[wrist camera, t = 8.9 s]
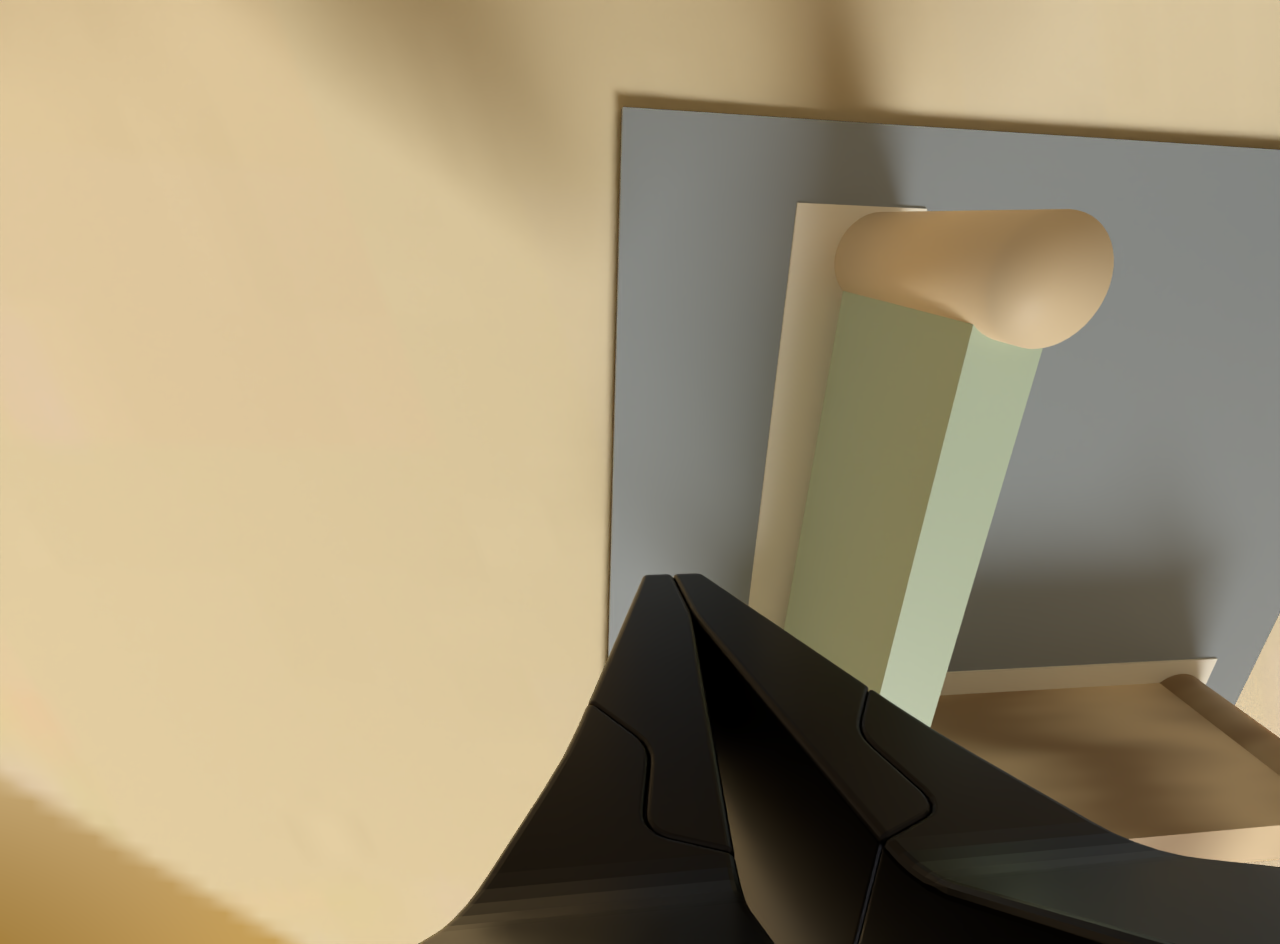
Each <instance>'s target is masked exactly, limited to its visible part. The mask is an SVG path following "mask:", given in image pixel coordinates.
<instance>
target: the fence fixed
mask: <svg viewBox="0 0 1280 944" xmlns="http://www.w3.org/2000/svg"><path fill="white" fill-rule="evenodd" d="M930 728H932V729H933V730H935V731H937V732H938V733H940V734H942V735H943V736H945V737H947V738H948V739H950V740H952V741H954V742H955V743H957V744H959V745H960V746H962V747H964V748H965V749H967V750H969V751H970V752H972V753H974V754H975V755H977V756H979V757H981V758H982V759H984V760H986V761H988V762H989V763H991V764H993V765H995V766H996V767H998V768H1000V769H1002V770H1003V771H1005V772H1007V773H1008V774H1010V775H1012V776H1014V777H1015V778H1017V779H1019V780H1021V781H1022V782H1024V783H1026V784H1028V785H1029V786H1031V787H1033V788H1035V789H1036V790H1038V791H1040V792H1042V793H1043V794H1045V795H1047V796H1049V797H1050V798H1052V799H1054V800H1056V801H1057V802H1059V803H1061V804H1063V805H1064V806H1066V807H1068V808H1070V809H1071V810H1073V811H1075V812H1076V813H1078V814H1080V815H1082V816H1083V817H1085V818H1087V819H1089V820H1090V821H1092V822H1094V823H1096V824H1098V825H1100V826H1102V827H1104V828H1105V829H1107V830H1109V831H1111V832H1113V833H1115V834H1118V835H1120V836H1122V837H1125V838H1127V839H1129V840H1132V841H1134V842H1137V843H1140V844H1143V845H1146V846H1149V847H1152V848H1155V849H1158V850H1161V851H1165V852H1170V853H1174V854H1178V855H1182V856H1188V857H1195V858H1203V859H1212V860H1221V861H1229V862H1238V863H1249V862H1259V861H1269V860H1279V859H1280V738H1279V737H1278V736H1276V735H1275V734H1273V733H1272V732H1271V731H1269V730H1268V729H1266V728H1265V727H1264V726H1262V725H1261V724H1259V723H1258V722H1257V721H1255V720H1254V719H1253V718H1251V717H1250V716H1248V715H1247V714H1246V713H1244V712H1243V711H1241V710H1240V709H1239V708H1237V707H1236V706H1235V705H1233V704H1232V703H1230V702H1229V701H1228V700H1226V699H1225V698H1223V697H1222V696H1221V695H1219V694H1218V693H1217V692H1215V691H1214V690H1212V689H1211V688H1210V687H1208V686H1207V685H1205V684H1204V683H1203V682H1201V681H1200V680H1199V679H1197V678H1196V677H1194V676H1192V675H1189V674H1178V675H1174V676H1171V677H1169V678H1167V679H1165V680H1163V681H1162V682H1160V683H1150V684H1133V685H1115V686H1098V687H1080V688H1062V689H1045V690H1027V691H1010V692H992V693H974V694H957V695H940V697H939V700H938V704H937V707H936V710H935V714H934V717H933V720H932V724H931V727H930Z"/></svg>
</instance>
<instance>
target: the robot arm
mask: <svg viewBox="0 0 1280 944" xmlns="http://www.w3.org/2000/svg"><path fill="white" fill-rule="evenodd" d="M868 690H869V689H868V687H867V686H866V685H865V684H863V683H862V682H860V681H859V680H857V679H856V678H855V677H853V676H852V675H850V674H849V673H847V672H846V671H844V670H843V669H841V668H840V667H838V666H837V665H835V664H834V663H832V662H831V661H829V660H828V659H826V658H825V657H823V656H822V655H821V654H819V653H818V652H816V651H815V650H813V649H812V648H810V647H809V646H807V645H806V644H804V643H803V642H801V641H800V640H798V639H797V638H795V637H794V636H792V635H791V634H789V633H788V632H787V631H785V630H784V629H782V628H781V627H779V626H778V625H776V624H775V623H773V622H772V621H770V620H769V619H767V618H766V617H764V616H763V615H761V614H760V613H758V612H757V611H756V610H754V609H753V608H751V607H750V606H748V605H747V604H745V603H744V602H742V601H741V600H739V599H738V598H736V597H735V596H733V595H732V594H730V593H729V592H727V591H726V590H724V589H723V588H722V587H720V586H719V585H717V584H716V583H714V582H713V581H711V580H710V579H708V578H707V577H705V576H704V575H702V574H699V573H688V574H676V575H674V576H673V577H672V576H671V575H669V574H654V575H645V576H644V577H643V578H642V580H641V583H640V585H639V587H638V590H637V592H636V594H635V597H634V599H633V601H632V604H631V606H630V608H629V611H628V613H627V615H626V617H625V620H624V622H623V624H622V627H621V629H620V631H619V634H618V636H617V638H616V641H615V643H614V645H613V648H612V650H611V652H610V655H609V657H608V659H607V662H606V664H605V666H604V669H603V671H602V673H601V676H600V678H599V680H598V683H597V685H596V687H595V690H594V692H593V694H592V696H591V699H590V701H589V704H588V706H587V708H586V710H585V712H584V714H583V716H582V719H581V721H580V723H579V726H578V728H577V730H576V732H575V734H574V736H573V738H572V740H571V742H570V744H569V746H568V748H567V750H566V752H565V754H564V756H563V758H562V760H561V761H560V763H559V765H558V766H557V768H556V770H555V771H554V773H553V775H552V776H551V778H550V780H549V782H548V783H547V785H546V787H545V788H544V790H543V791H542V793H541V794H540V796H539V797H538V799H537V801H536V802H535V804H534V805H533V807H532V808H531V810H530V811H529V813H528V814H527V816H526V817H525V819H524V821H523V822H522V824H521V825H520V827H519V828H518V830H517V831H516V833H515V834H514V836H513V838H512V839H511V841H510V842H509V844H508V845H507V847H506V848H505V850H504V851H503V853H502V854H501V856H500V858H499V859H498V861H497V862H496V864H495V865H494V867H493V868H492V870H491V871H490V873H489V875H488V876H487V877H486V879H485V880H484V882H483V883H482V885H481V886H480V888H479V889H478V891H477V892H476V894H475V895H474V896H473V897H472V899H471V900H470V901H469V902H468V904H467V905H466V906H465V907H464V908H463V909H462V911H461V912H460V913H459V914H458V915H457V916H456V917H455V918H454V919H453V920H452V921H451V922H450V923H449V924H447V925H446V926H445V927H444V928H443V929H442V930H440V931H439V932H437V933H436V934H434V935H432V936H431V937H429V938H427V939H426V940H424V941H422V942H421V943H419V944H1280V867H1274V866H1265V865H1256V864H1247V863H1238V862H1229V861H1221V860H1212V859H1203V858H1195V857H1188V856H1182V855H1178V854H1174V853H1170V852H1165V851H1161V850H1158V849H1155V848H1152V847H1149V846H1146V845H1143V844H1140V843H1137V842H1134V841H1132V840H1129V839H1127V838H1125V837H1122V836H1120V835H1118V834H1115V833H1113V832H1111V831H1109V830H1107V829H1105V828H1104V827H1102V826H1100V825H1098V824H1096V823H1094V822H1092V821H1090V820H1089V819H1087V818H1085V817H1083V816H1082V815H1080V814H1078V813H1076V812H1075V811H1073V810H1071V809H1070V808H1068V807H1066V806H1064V805H1063V804H1061V803H1059V802H1057V801H1056V800H1054V799H1052V798H1050V797H1049V796H1047V795H1045V794H1043V793H1042V792H1040V791H1038V790H1036V789H1035V788H1033V787H1031V786H1029V785H1028V784H1026V783H1024V782H1022V781H1021V780H1019V779H1017V778H1015V777H1014V776H1012V775H1010V774H1008V773H1007V772H1005V771H1003V770H1002V769H1000V768H998V767H996V766H995V765H993V764H991V763H989V762H988V761H986V760H984V759H982V758H981V757H979V756H977V755H975V754H974V753H972V752H970V751H969V750H967V749H965V748H964V747H962V746H960V745H959V744H957V743H955V742H954V741H952V740H950V739H948V738H947V737H945V736H943V735H942V734H940V733H938V732H937V731H935V730H933V729H932V728H930V727H929V726H927V725H926V724H924V723H923V722H921V721H919V720H918V719H916V718H915V717H913V716H912V715H910V714H909V713H907V712H906V711H904V710H902V709H901V708H899V707H898V706H896V705H895V704H893V703H892V702H890V701H889V700H887V699H886V698H884V697H883V696H881V695H880V694H878V693H877V692H876V691H874V690H869V691H868Z"/></svg>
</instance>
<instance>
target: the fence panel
mask: <svg viewBox="0 0 1280 944" xmlns="http://www.w3.org/2000/svg"><path fill="white" fill-rule="evenodd" d="M1113 268H1114V254H1113V247H1112V243H1111V240H1110V237H1109V235H1108V233H1107V231H1106V230H1105V228H1104V227H1103V225H1102V224H1101V223H1100V222H1099V221H1098V220H1097V219H1095V218H1094V217H1093V216H1091V215H1089V214H1088V213H1085V212H1082V211H1079V210H1074V209H1034V210H968V211H903V212H875V213H871V214H868V215H866V216H864V217H862V218H860V219H859V220H857V221H856V222H855V223H853V224H852V225H851V226H850V227H849V228H848V230H847V231H846V232H845V233H844V235H843V237H842V238H841V240H840V242H839V244H838V247H837V250H836V254H835V261H834V269H835V275H836V279H837V281H838V284H839V286H840V287H841V289H842V290H843V294H842V299H841V305H840V311H839V317H838V322H837V328H836V334H835V339H834V345H833V351H832V357H831V362H830V368H829V374H828V379H827V385H826V391H825V397H824V402H823V408H822V414H821V419H820V425H819V431H818V437H817V442H816V448H815V454H814V459H813V465H812V471H811V477H810V482H809V488H808V494H807V499H806V505H805V511H804V517H803V522H802V528H801V534H800V539H799V545H798V551H797V557H796V562H795V568H794V574H793V579H792V585H791V591H790V597H789V602H788V608H787V614H786V619H785V625H784V630H785V631H787V632H788V633H789V634H791V635H792V636H794V637H795V638H797V639H798V640H800V641H801V642H803V643H804V644H806V645H807V646H809V647H810V648H812V649H813V650H815V651H816V652H818V653H819V654H821V655H822V656H823V657H825V658H826V659H828V660H829V661H831V662H832V663H834V664H835V665H837V666H838V667H840V668H841V669H843V670H844V671H846V672H847V673H849V674H850V675H852V676H853V677H855V678H856V679H857V680H859V681H860V682H862V683H863V684H865V685H866V686H867V687H868V689H869V690H874V691H876V692H877V693H878V694H880V695H881V696H883V697H884V698H886V699H887V700H889V701H890V702H892V703H893V704H895V705H896V706H898V707H899V708H901V709H902V710H904V711H906V712H907V713H909V714H910V715H912V716H913V717H915V718H916V719H918V720H919V721H921V722H923V723H924V724H926V725H927V726H929V727H931V724H932V720H933V717H934V714H935V710H936V707H937V704H938V700H939V697H940V693H941V690H942V687H943V683H944V680H945V677H946V673H947V670H948V666H949V663H950V660H951V656H952V653H953V650H954V646H955V643H956V639H957V636H958V633H959V629H960V626H961V623H962V619H963V616H964V612H965V609H966V606H967V602H968V599H969V596H970V592H971V589H972V585H973V582H974V579H975V575H976V572H977V569H978V565H979V562H980V558H981V555H982V552H983V548H984V545H985V542H986V538H987V535H988V531H989V528H990V525H991V521H992V518H993V515H994V511H995V508H996V504H997V501H998V498H999V494H1000V491H1001V488H1002V484H1003V481H1004V477H1005V474H1006V471H1007V467H1008V464H1009V461H1010V457H1011V454H1012V450H1013V447H1014V444H1015V440H1016V437H1017V434H1018V430H1019V427H1020V423H1021V420H1022V417H1023V413H1024V410H1025V407H1026V403H1027V400H1028V397H1029V393H1030V390H1031V386H1032V383H1033V380H1034V376H1035V373H1036V370H1037V366H1038V363H1039V359H1040V356H1041V353H1042V349H1043V348H1046V347H1049V346H1053V345H1056V344H1058V343H1060V342H1062V341H1064V340H1066V339H1068V338H1070V337H1071V336H1072V335H1074V334H1075V333H1077V332H1078V331H1079V330H1080V329H1081V328H1082V327H1084V326H1085V325H1086V324H1087V323H1088V321H1089V320H1090V319H1091V318H1092V317H1093V316H1094V314H1095V313H1096V312H1097V310H1098V309H1099V307H1100V305H1101V304H1102V302H1103V300H1104V298H1105V296H1106V294H1107V291H1108V289H1109V286H1110V283H1111V279H1112V274H1113ZM869 690H868V691H869Z"/></svg>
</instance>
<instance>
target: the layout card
mask: <svg viewBox="0 0 1280 944" xmlns="http://www.w3.org/2000/svg"><path fill="white" fill-rule="evenodd" d="M1034 209H1074V210H1079V211H1082V212H1085V213H1088V214H1089V215H1091V216H1093V217H1094V218H1095V219H1097V220H1098V221H1099V222H1100V223H1101V224H1102V225H1103V227H1104V228H1105V230H1106V231H1107V233H1108V235H1109V237H1110V240H1111V243H1112V247H1113V254H1114V268H1113V274H1112V279H1111V283H1110V286H1109V289H1108V291H1107V294H1106V296H1105V298H1104V300H1103V302H1102V304H1101V305H1100V307H1099V309H1098V310H1097V312H1096V313H1095V314H1094V316H1093V317H1092V318H1091V319H1090V320H1089V321H1088V323H1087V324H1086V325H1085V326H1084V327H1082V328H1081V329H1080V330H1079V331H1078V332H1077V333H1075V334H1074V335H1072V336H1071V337H1070V338H1068V339H1066V340H1064V341H1062V342H1060V343H1058V344H1056V345H1053V346H1049V347H1046V348H1043V349H1042V353H1041V356H1040V359H1039V363H1038V366H1037V370H1036V373H1035V376H1034V380H1033V383H1032V386H1031V390H1030V393H1029V397H1028V400H1027V403H1026V407H1025V410H1024V413H1023V417H1022V420H1021V423H1020V427H1019V430H1018V434H1017V437H1016V440H1015V444H1014V447H1013V450H1012V454H1011V457H1010V461H1009V464H1008V467H1007V471H1006V474H1005V477H1004V481H1003V484H1002V488H1001V491H1000V494H999V498H998V501H997V504H996V508H995V511H994V515H993V518H992V521H991V525H990V528H989V531H988V535H987V538H986V542H985V545H984V548H983V552H982V555H981V558H980V562H979V565H978V569H977V572H976V575H975V579H974V582H973V585H972V589H971V592H970V596H969V599H968V602H967V606H966V609H965V612H964V616H963V619H962V623H961V626H960V629H959V633H958V636H957V639H956V643H955V646H954V650H953V653H952V656H951V660H950V663H949V666H948V670H947V673H946V677H945V680H944V683H943V687H942V690H941V693H940V695H957V694H974V693H992V692H1010V691H1027V690H1045V689H1062V688H1080V687H1098V686H1115V685H1133V684H1150V683H1160V682H1162V681H1163V680H1165V679H1167V678H1169V677H1171V676H1174V675H1178V674H1189V675H1192V676H1194V677H1196V678H1197V679H1199V680H1200V681H1201V682H1203V683H1204V684H1205V685H1207V686H1208V687H1210V688H1211V689H1212V690H1214V691H1215V692H1217V693H1218V694H1219V695H1221V696H1222V697H1223V698H1225V699H1226V700H1228V701H1229V702H1230V703H1232V704H1233V705H1235V704H1236V702H1237V700H1238V697H1239V695H1240V693H1241V691H1242V689H1243V687H1244V685H1245V683H1246V681H1247V679H1248V677H1249V675H1250V673H1251V671H1252V669H1253V667H1254V665H1255V663H1256V661H1257V659H1258V656H1259V654H1260V652H1261V650H1262V648H1263V646H1264V644H1265V642H1266V640H1267V638H1268V636H1269V634H1270V632H1271V630H1272V628H1273V626H1274V624H1275V622H1276V620H1277V618H1278V616H1279V613H1280V150H1275V149H1260V148H1244V147H1229V146H1214V145H1198V144H1183V143H1168V142H1152V141H1137V140H1122V139H1106V138H1091V137H1076V136H1061V135H1045V134H1030V133H1015V132H999V131H984V130H969V129H953V128H938V127H923V126H907V125H892V124H877V123H861V122H846V121H831V120H815V119H800V118H785V117H769V116H754V115H739V114H723V113H708V112H693V111H678V110H662V109H647V108H632V107H622V118H621V157H620V197H619V236H618V276H617V315H616V355H615V394H614V434H613V473H612V513H611V552H610V591H609V631H608V657H609V655H610V652H611V650H612V648H613V645H614V643H615V641H616V638H617V636H618V634H619V631H620V629H621V627H622V624H623V622H624V620H625V617H626V615H627V613H628V611H629V608H630V606H631V604H632V601H633V599H634V597H635V594H636V592H637V590H638V587H639V585H640V583H641V580H642V578H643V577H644V576H645V575H654V574H669V575H671V576H672V577H673V576H674V575H676V574H688V573H699V574H702V575H704V576H705V577H707V578H708V579H710V580H711V581H713V582H714V583H716V584H717V585H719V586H720V587H722V588H723V589H724V590H726V591H727V592H729V593H730V594H732V595H733V596H735V597H736V598H738V599H739V600H741V601H742V602H744V603H745V604H747V605H748V606H750V607H751V608H753V609H754V610H756V611H757V612H758V613H760V614H761V615H763V616H764V617H766V618H767V619H769V620H770V621H772V622H773V623H775V624H776V625H778V626H779V627H781V628H782V629H784V625H785V619H786V614H787V608H788V602H789V597H790V591H791V585H792V579H793V574H794V568H795V562H796V557H797V551H798V545H799V539H800V534H801V528H802V522H803V517H804V511H805V505H806V499H807V494H808V488H809V482H810V477H811V471H812V465H813V459H814V454H815V448H816V442H817V437H818V431H819V425H820V419H821V414H822V408H823V402H824V397H825V391H826V385H827V379H828V374H829V368H830V362H831V357H832V351H833V345H834V339H835V334H836V328H837V322H838V317H839V311H840V305H841V299H842V294H843V290H842V289H841V287H840V286H839V284H838V281H837V279H836V275H835V269H834V261H835V254H836V250H837V247H838V244H839V242H840V240H841V238H842V237H843V235H844V233H845V232H846V231H847V230H848V228H849V227H850V226H851V225H852V224H853V223H855V222H856V221H857V220H859V219H860V218H862V217H864V216H866V215H868V214H871V213H875V212H903V211H968V210H1034Z"/></svg>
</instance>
